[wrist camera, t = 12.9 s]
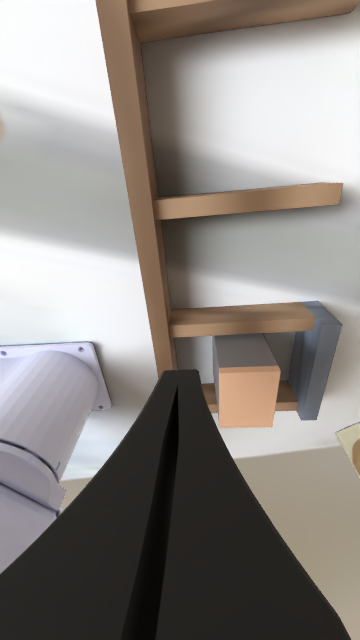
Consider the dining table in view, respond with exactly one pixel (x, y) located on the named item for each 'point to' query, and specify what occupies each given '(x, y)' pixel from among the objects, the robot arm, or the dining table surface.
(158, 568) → the robot arm
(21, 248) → the dining table surface
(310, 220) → the dining table surface
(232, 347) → the tan box
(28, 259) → the dining table surface
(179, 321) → the divider rack
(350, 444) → the skincare box
